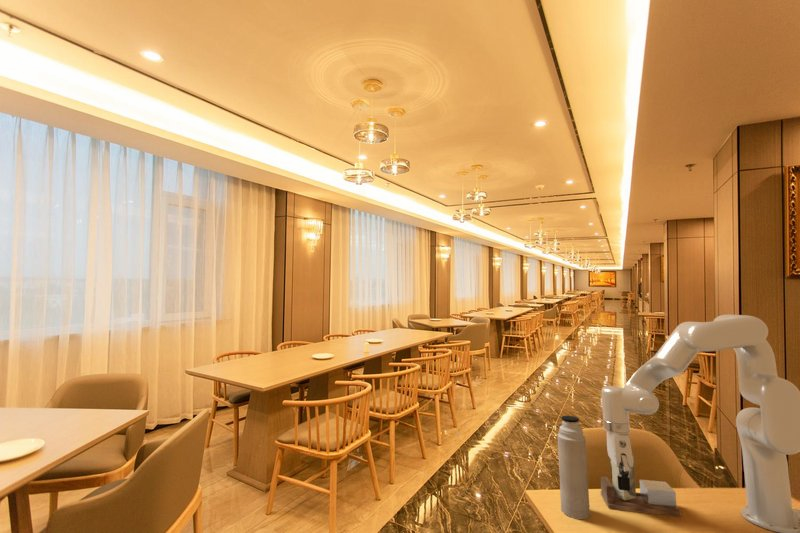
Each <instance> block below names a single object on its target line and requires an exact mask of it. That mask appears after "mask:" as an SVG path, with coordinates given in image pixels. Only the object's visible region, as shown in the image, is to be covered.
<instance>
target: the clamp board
mask: <svg viewBox="0 0 800 533" xmlns="http://www.w3.org/2000/svg"><path fill="white" fill-rule="evenodd" d="M600 490H601V491H600V496H601V498H602V500H603V501H604V502H605V505H606V507H607V508H608V509H610V510H619V511H628V512H637V513H638V512H639V513H645V514H646V513H647V514H653V515H655V514H657V515H662V516H663V515H665V516H672V517H673V516H674V517H681V514H682V513H681V509H680V507H677V508H673V507H664V506H654V505H647V503H646V502H645V501H644V500H643V498H642V497H641V495H640V492H636V498H634V499H629V500H623V499H621V498H619V497H618V496H616V495H614V487H613V483H612V482H611V481H610V479H609V478H608V477H607V476H600Z"/></svg>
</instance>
